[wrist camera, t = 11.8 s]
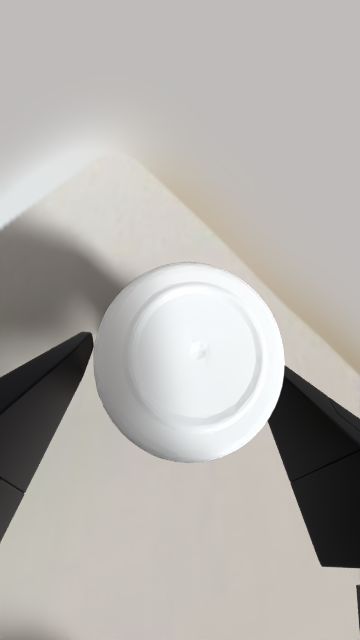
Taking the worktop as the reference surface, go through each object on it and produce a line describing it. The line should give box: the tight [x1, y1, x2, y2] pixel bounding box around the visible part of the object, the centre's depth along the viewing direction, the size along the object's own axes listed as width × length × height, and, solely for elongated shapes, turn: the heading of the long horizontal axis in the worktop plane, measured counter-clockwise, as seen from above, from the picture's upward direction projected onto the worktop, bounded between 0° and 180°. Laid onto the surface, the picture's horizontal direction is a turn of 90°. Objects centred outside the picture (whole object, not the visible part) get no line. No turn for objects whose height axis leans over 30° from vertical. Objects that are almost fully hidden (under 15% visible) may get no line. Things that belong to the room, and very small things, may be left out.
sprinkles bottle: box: [94, 262, 284, 463], centre depth 10 cm, size 5×5×14 cm
